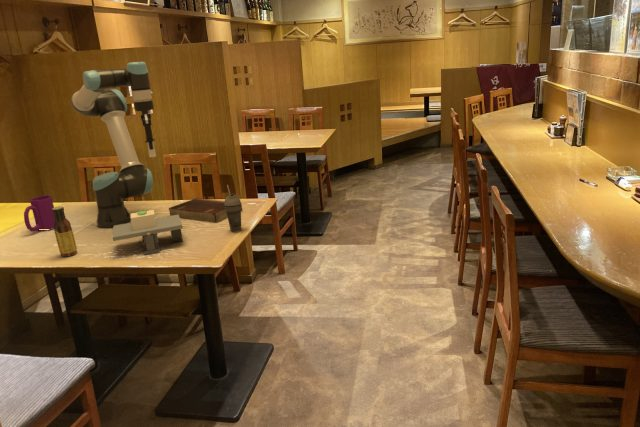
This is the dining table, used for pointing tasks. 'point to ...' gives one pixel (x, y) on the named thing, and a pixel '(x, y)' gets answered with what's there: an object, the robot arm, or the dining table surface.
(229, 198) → the beverage cup
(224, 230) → the dining table surface
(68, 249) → the sauce bottle
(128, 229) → the instrument plate
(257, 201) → the dining table surface
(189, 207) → the hardback book
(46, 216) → the mug
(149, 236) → the pivot stand
